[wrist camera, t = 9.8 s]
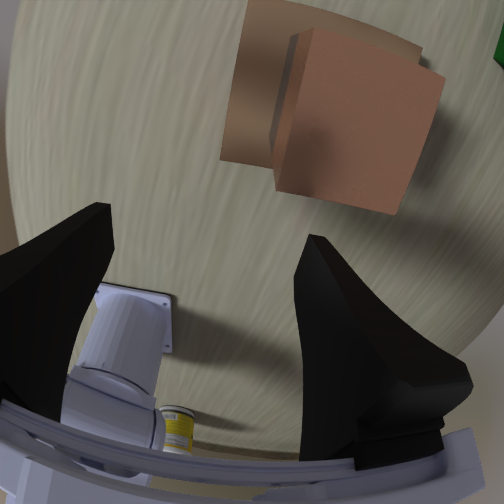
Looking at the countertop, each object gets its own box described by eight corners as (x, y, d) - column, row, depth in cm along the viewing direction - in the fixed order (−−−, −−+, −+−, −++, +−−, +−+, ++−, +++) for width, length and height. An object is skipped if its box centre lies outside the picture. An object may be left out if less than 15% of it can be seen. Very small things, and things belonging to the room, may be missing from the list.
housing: (378, 61, 13) (445, 78, 8) (351, 154, 17) (395, 215, 11) (290, 35, 13) (314, 27, 7) (269, 136, 16) (275, 190, 11)
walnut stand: (366, 178, 20) (375, 191, 18) (222, 149, 19) (219, 160, 17) (407, 46, 14) (422, 48, 12) (250, 0, 13) (249, -6, 11)
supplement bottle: (184, 420, 48) (177, 476, 39) (153, 409, 46) (143, 468, 37) (202, 413, 45) (196, 475, 36) (168, 401, 43) (158, 466, 34)
